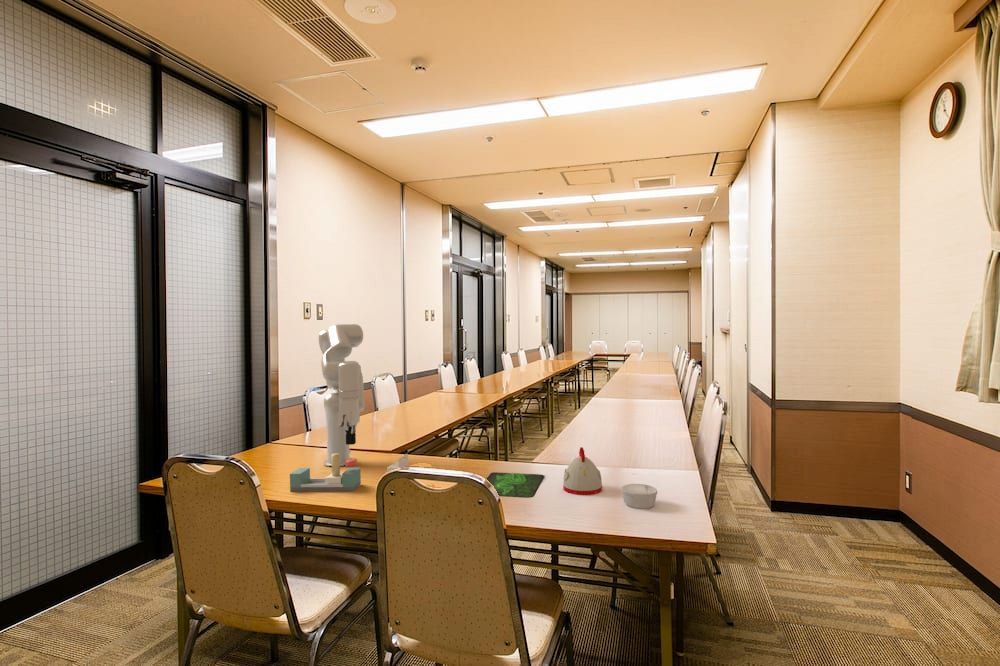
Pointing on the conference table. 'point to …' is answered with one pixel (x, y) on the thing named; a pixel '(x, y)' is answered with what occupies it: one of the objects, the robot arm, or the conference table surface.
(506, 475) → the mouse mat
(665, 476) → the conference table surface
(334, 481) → the carriage
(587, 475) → the kitchen timer
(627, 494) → the ramekin
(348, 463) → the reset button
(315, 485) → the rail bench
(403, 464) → the white angular piece
